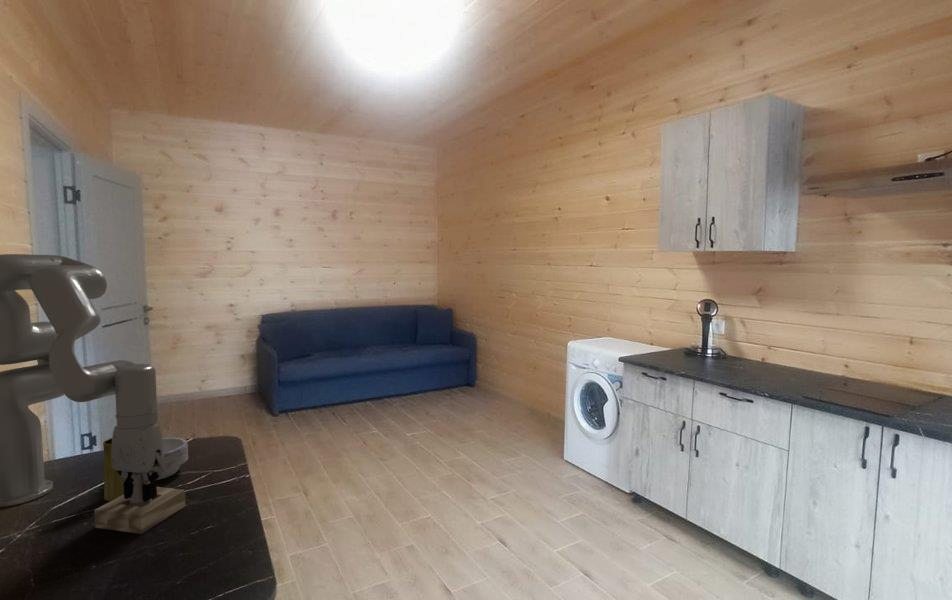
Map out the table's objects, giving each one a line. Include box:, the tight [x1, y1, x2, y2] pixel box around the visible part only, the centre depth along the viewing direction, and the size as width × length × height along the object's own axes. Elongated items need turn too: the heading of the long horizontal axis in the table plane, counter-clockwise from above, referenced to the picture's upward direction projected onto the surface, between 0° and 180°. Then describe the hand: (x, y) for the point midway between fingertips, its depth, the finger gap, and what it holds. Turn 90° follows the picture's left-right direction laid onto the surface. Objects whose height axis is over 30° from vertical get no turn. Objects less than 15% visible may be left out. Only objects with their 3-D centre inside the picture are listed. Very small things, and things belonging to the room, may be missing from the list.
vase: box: [102, 437, 124, 502], centre depth 119 cm, size 6×6×14 cm
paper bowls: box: [149, 437, 189, 481], centre depth 131 cm, size 15×15×8 cm
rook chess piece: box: [129, 473, 152, 507], centre depth 109 cm, size 4×4×8 cm
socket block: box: [94, 486, 186, 535], centre depth 109 cm, size 12×12×4 cm
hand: (140, 496), depth 109 cm, fingers closed on rook chess piece, 4 cm apart
